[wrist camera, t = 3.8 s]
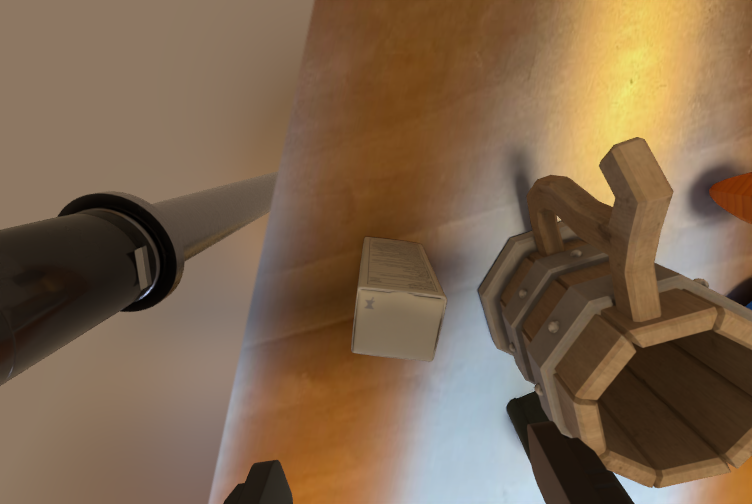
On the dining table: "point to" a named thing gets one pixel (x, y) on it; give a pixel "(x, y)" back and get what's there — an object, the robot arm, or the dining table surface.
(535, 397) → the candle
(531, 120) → the dining table surface
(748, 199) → the carrot
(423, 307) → the box
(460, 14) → the dining table surface
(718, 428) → the tankard
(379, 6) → the dining table surface
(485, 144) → the dining table surface
